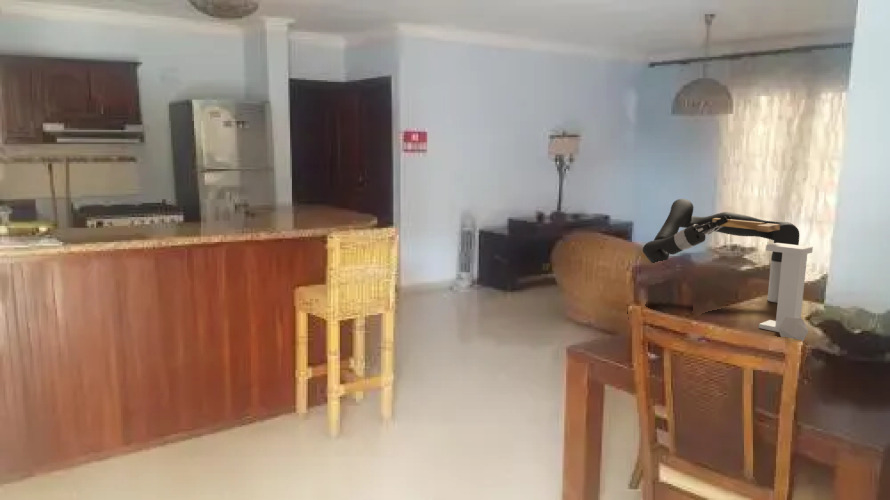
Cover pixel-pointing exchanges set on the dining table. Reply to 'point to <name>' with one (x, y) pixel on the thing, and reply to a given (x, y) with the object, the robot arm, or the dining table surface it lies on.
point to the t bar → (750, 225)
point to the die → (793, 328)
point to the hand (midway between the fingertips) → (728, 218)
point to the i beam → (789, 283)
